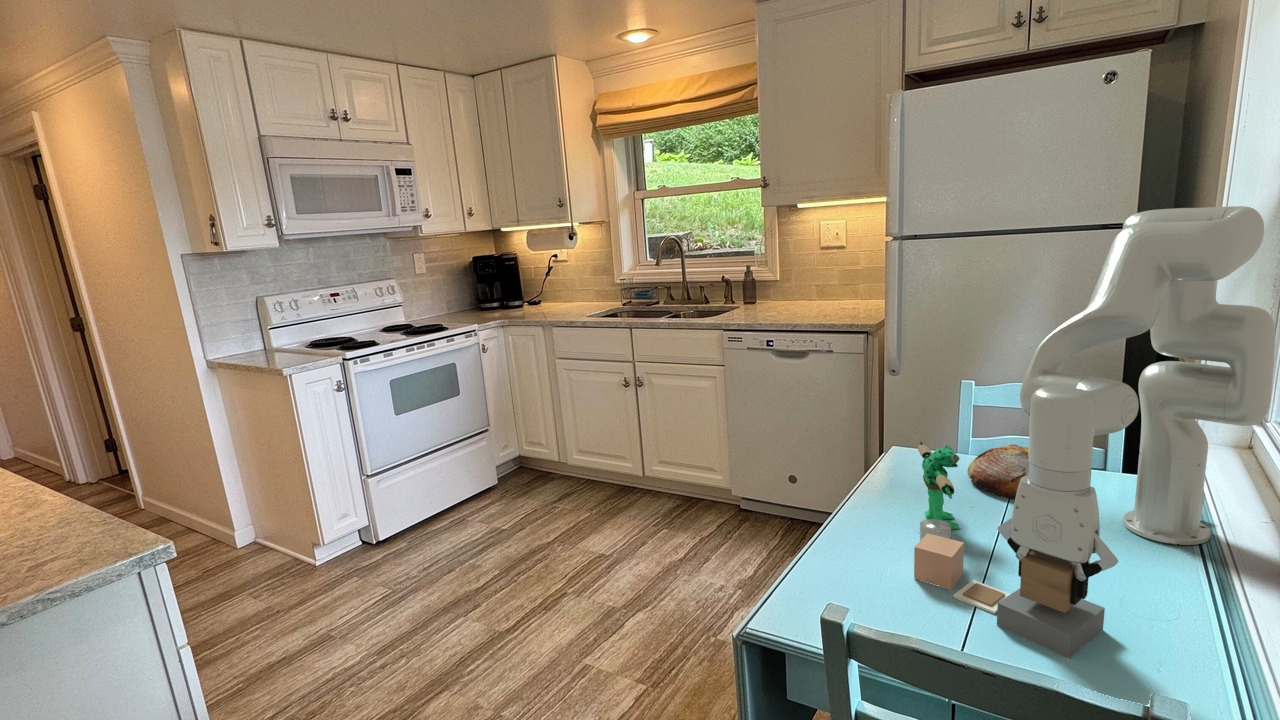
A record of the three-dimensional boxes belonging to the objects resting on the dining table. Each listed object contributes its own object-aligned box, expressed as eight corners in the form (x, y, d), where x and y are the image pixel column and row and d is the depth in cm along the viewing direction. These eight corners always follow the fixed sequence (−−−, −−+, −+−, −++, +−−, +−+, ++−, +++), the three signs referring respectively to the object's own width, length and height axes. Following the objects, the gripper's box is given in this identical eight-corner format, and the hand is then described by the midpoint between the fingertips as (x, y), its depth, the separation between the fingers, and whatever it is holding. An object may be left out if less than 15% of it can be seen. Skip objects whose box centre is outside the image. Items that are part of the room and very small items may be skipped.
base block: (1031, 602, 105) (1032, 579, 104) (1102, 632, 97) (1104, 607, 96) (996, 627, 100) (997, 602, 99) (1068, 660, 91) (1070, 635, 91)
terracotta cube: (926, 564, 117) (927, 533, 116) (962, 574, 113) (964, 542, 112) (914, 579, 113) (914, 547, 112) (951, 590, 109) (952, 557, 108)
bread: (1056, 515, 134) (1058, 469, 131) (954, 491, 148) (954, 450, 145) (1077, 484, 145) (1079, 441, 142) (981, 465, 159) (981, 425, 156)
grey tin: (928, 546, 123) (929, 516, 122) (955, 555, 119) (956, 524, 118) (914, 556, 120) (914, 525, 119) (940, 566, 117) (941, 534, 115)
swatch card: (973, 582, 111) (973, 578, 111) (1014, 597, 106) (1014, 593, 106) (953, 597, 107) (953, 593, 107) (994, 614, 102) (994, 610, 102)
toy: (976, 554, 119) (979, 476, 116) (937, 553, 121) (939, 475, 118) (942, 495, 144) (943, 429, 141) (910, 494, 145) (911, 429, 142)
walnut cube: (1037, 580, 101) (1039, 544, 100) (1082, 596, 96) (1085, 558, 95) (1019, 595, 98) (1021, 558, 96) (1065, 613, 93) (1068, 574, 92)
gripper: (982, 467, 98) (979, 579, 101) (1121, 500, 84) (1110, 628, 88) (1006, 453, 102) (1002, 561, 106) (1141, 483, 89) (1130, 605, 92)
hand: (1051, 590), depth 97 cm, fingers closed on walnut cube, 5 cm apart
